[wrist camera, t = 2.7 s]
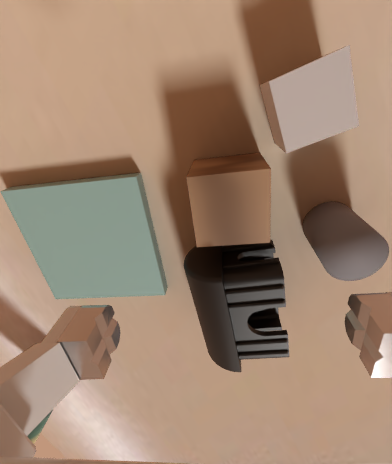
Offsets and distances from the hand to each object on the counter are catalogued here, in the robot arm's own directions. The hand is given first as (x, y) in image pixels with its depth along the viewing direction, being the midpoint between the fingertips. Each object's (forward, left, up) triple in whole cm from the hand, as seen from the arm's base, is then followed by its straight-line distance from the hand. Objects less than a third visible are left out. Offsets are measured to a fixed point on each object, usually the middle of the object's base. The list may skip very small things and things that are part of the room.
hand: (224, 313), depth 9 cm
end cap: (0, +9, -14) cm, 16 cm away
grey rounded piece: (-8, +4, -13) cm, 16 cm away
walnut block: (0, 0, -13) cm, 13 cm away
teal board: (+13, +4, -13) cm, 19 cm away
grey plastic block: (-5, -6, -13) cm, 16 cm away
